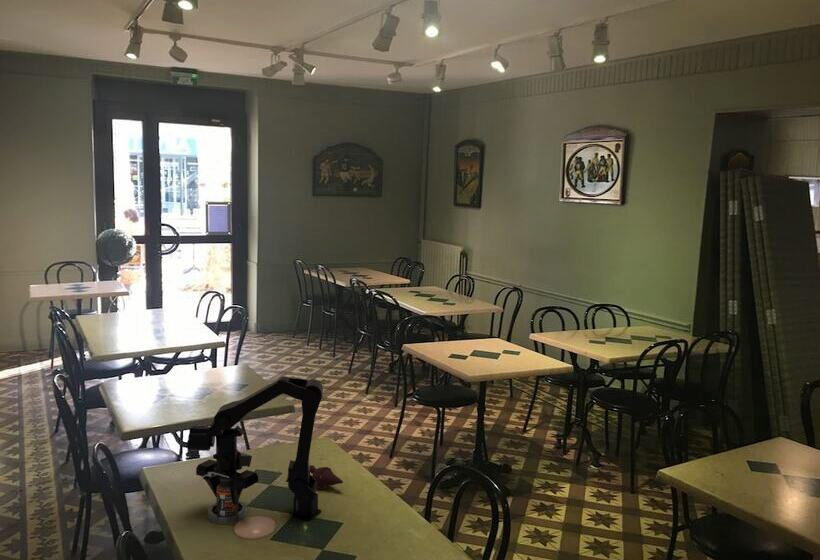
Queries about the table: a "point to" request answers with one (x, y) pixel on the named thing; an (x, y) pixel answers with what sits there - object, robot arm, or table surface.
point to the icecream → (324, 477)
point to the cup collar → (227, 519)
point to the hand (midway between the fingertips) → (227, 501)
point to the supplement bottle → (225, 498)
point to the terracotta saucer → (254, 527)
